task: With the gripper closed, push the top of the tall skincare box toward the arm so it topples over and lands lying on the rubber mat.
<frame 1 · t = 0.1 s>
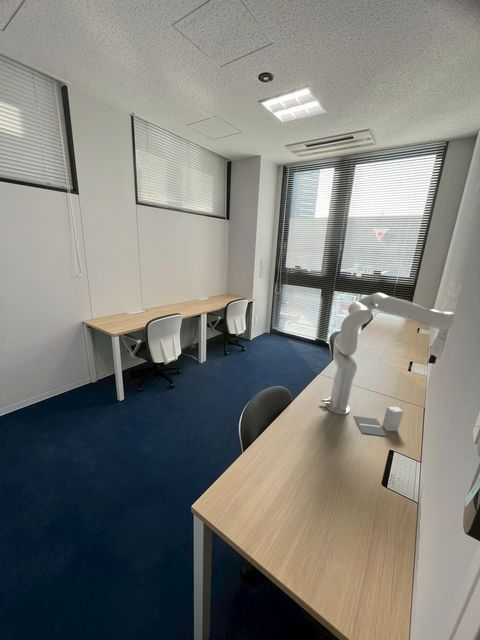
hand: (437, 367, 135), 31 cm above the table, fingers open, 9 cm apart
skincare box: (389, 429, 133), on the table
mat: (369, 426, 134), on the table
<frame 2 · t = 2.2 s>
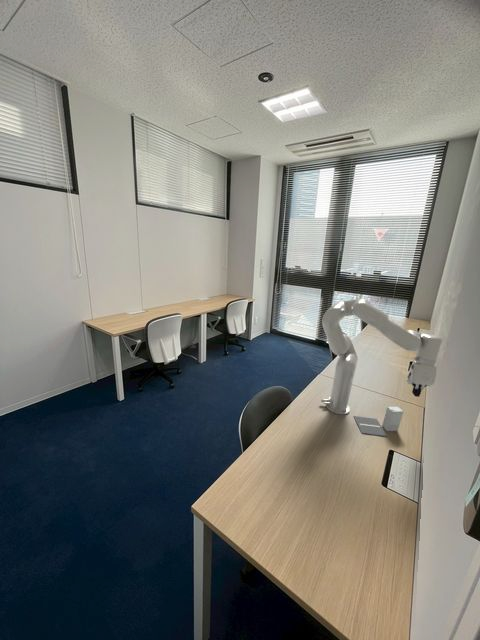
hand: (415, 395, 126), 21 cm above the table, fingers closed
nothing on the table moved.
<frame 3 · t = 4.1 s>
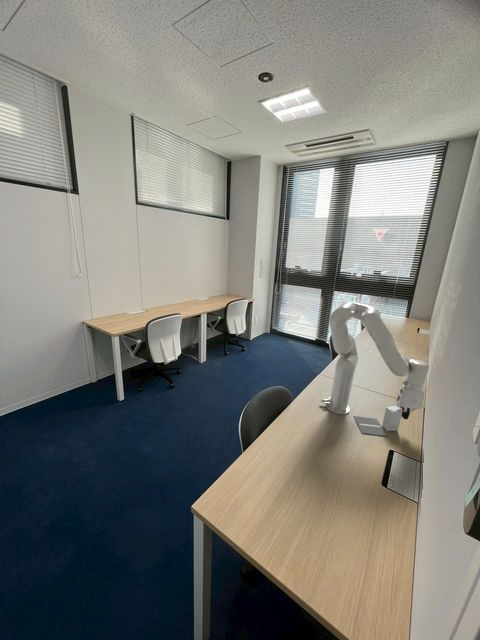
hand: (404, 417, 131), 8 cm above the table, fingers closed
skincare box: (389, 429, 133), on the table, touching gripper
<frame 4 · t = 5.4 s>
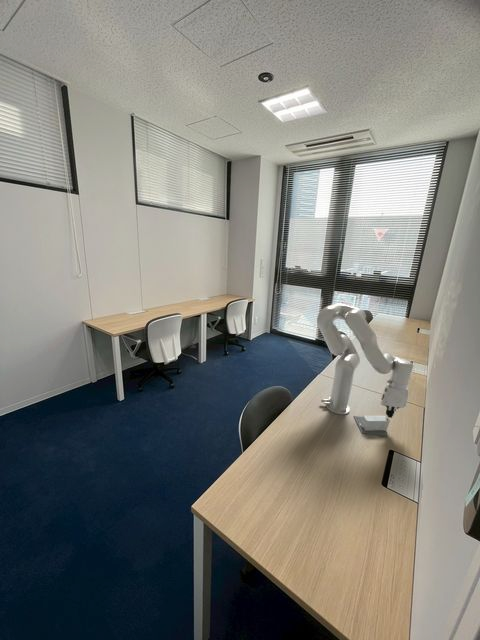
hand: (388, 415, 131), 7 cm above the table, fingers closed
skincare box: (386, 423, 132), point 3 cm above the table, touching mat
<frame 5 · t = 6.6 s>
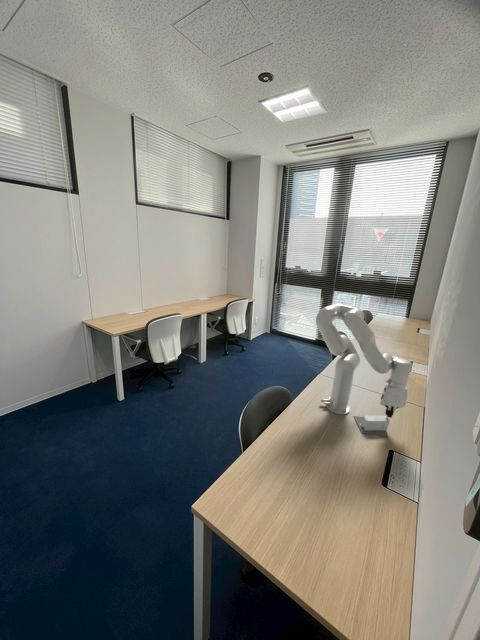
hand: (388, 415, 131), 8 cm above the table, fingers closed
nothing on the table moved.
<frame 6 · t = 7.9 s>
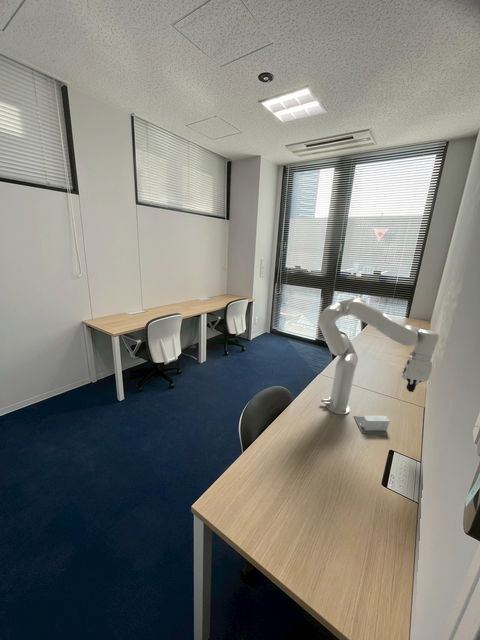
hand: (409, 390, 127), 23 cm above the table, fingers closed
nothing on the table moved.
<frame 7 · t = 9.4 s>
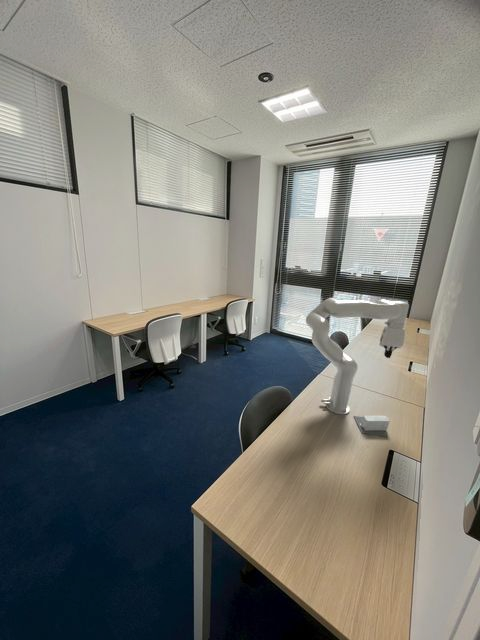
hand: (387, 356, 141), 32 cm above the table, fingers closed
nothing on the table moved.
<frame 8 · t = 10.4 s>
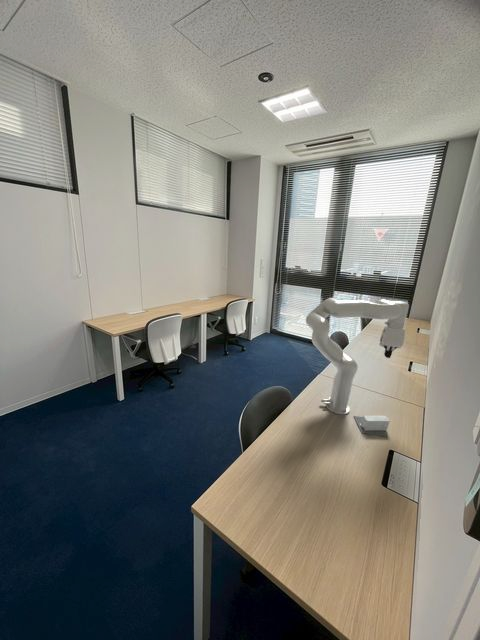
hand: (387, 356, 141), 32 cm above the table, fingers closed
nothing on the table moved.
at the end: skincare box tilted 89°; skincare box inside the target area (5.7 cm from its centre), point 3.4 cm above the table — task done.
